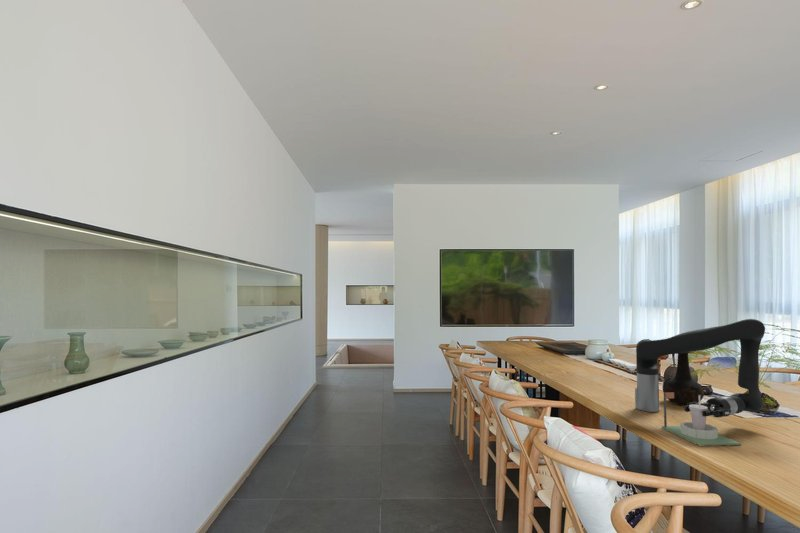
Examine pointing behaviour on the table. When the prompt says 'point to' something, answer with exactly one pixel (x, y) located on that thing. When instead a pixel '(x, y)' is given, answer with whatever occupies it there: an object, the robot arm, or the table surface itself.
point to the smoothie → (698, 416)
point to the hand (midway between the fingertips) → (694, 411)
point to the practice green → (696, 431)
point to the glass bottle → (683, 384)
